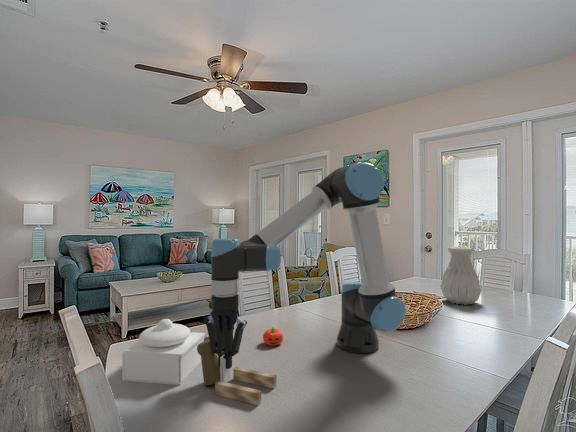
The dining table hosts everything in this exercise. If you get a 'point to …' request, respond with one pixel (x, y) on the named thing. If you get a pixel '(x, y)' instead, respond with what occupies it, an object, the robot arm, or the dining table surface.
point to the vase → (460, 278)
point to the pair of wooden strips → (244, 392)
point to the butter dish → (162, 354)
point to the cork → (209, 363)
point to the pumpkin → (273, 337)
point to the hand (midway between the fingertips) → (225, 379)
